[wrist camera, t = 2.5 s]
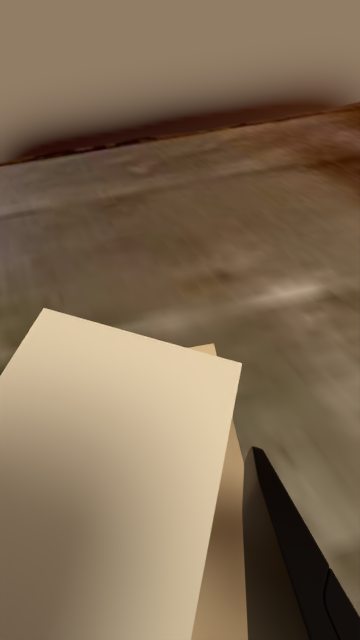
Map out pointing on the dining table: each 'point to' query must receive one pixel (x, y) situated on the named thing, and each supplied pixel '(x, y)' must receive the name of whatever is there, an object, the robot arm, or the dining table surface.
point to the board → (224, 553)
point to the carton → (107, 481)
